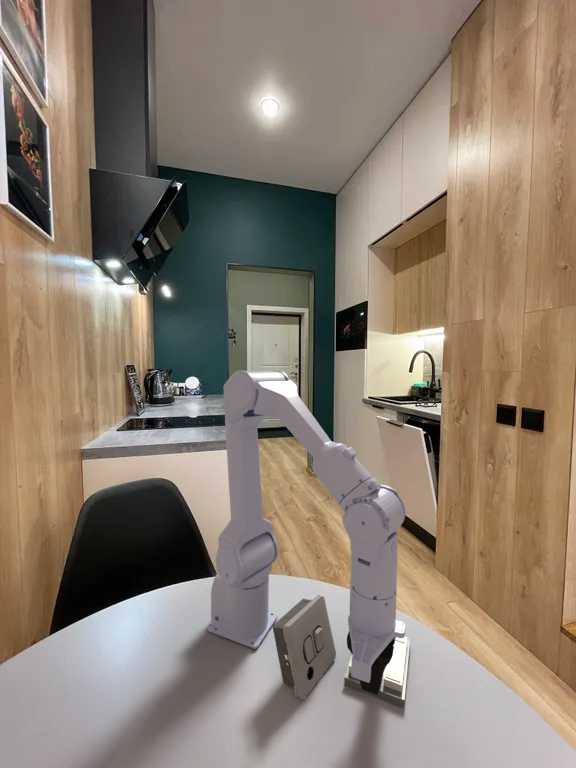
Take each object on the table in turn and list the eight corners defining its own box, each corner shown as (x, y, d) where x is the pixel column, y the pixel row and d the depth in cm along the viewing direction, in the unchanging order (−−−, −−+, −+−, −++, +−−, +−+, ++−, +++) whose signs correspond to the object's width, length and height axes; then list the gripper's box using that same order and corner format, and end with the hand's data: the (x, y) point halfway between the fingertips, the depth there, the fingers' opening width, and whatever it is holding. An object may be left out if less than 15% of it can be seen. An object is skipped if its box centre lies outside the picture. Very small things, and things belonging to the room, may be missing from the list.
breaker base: (344, 685, 48) (344, 669, 48) (360, 630, 58) (360, 617, 58) (404, 708, 45) (404, 692, 45) (410, 646, 55) (410, 632, 55)
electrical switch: (301, 705, 45) (296, 634, 45) (271, 685, 48) (267, 619, 48) (337, 658, 52) (333, 597, 53) (309, 644, 56) (306, 587, 56)
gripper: (400, 636, 35) (396, 761, 36) (410, 563, 48) (407, 655, 49) (333, 615, 38) (331, 731, 39) (360, 551, 51) (358, 639, 52)
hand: (370, 687), depth 44 cm, fingers closed
